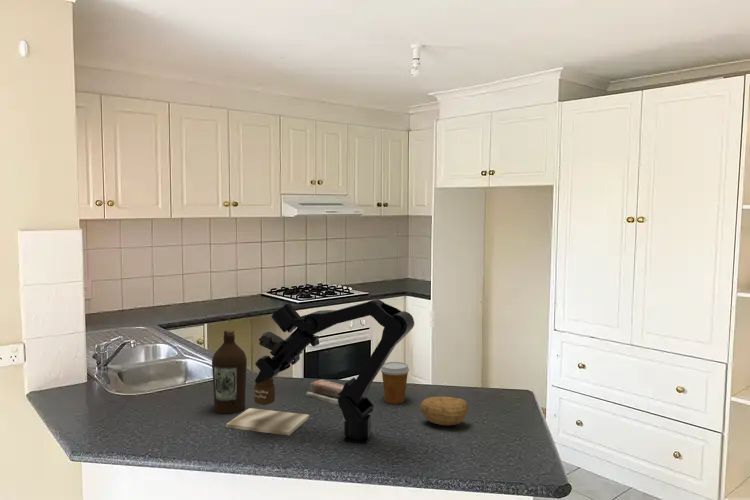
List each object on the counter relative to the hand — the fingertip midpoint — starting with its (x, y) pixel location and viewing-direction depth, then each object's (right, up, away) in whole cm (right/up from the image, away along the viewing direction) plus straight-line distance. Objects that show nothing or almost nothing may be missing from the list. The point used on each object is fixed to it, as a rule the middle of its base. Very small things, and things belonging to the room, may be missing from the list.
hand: (260, 379), depth 165 cm
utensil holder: (+1, -7, 0) cm, 7 cm away
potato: (+54, -14, +1) cm, 56 cm away
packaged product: (+20, -12, +25) cm, 34 cm away
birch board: (+2, -13, +2) cm, 13 cm away
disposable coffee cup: (+40, -12, +22) cm, 47 cm away
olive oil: (-12, -13, +13) cm, 22 cm away
